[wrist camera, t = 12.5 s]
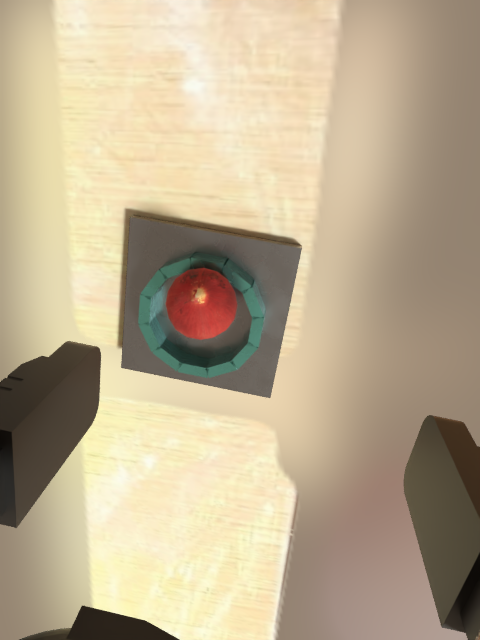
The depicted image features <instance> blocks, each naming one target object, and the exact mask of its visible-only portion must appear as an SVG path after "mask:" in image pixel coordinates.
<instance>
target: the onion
mask: <svg viewBox="0 0 480 640" xmlns="http://www.w3.org/2000/svg"><path fill="white" fill-rule="evenodd" d="M166 308H167V312H168V317H169V319H170V321H171V323H172V324H173V326H174V327H175V329H176V330H177V331H179V332H180V333H182V334H183V335H185V336H186V337H189V338H194V339H199V340H203V339H208V338H213V337H215V336H217V335H219V334H220V333H222V332H224V331H226V330H227V328H228V327H229V326H230V324H231V323H232V322H233V320H234V319H235V315H236V310H237V300H236V295H235V291H234V289H233V288H232V286H231V284H230V282H229V280H228V279H226V278H225V277H224V276H223V275H221V274H220V273H219V272H217V271H214V270H210V269H206V268H198V269H192V270H187V271H186V272H184V273H183V274H182V275H180V276H179V277H177V278H176V279H175V280H174V282H173V284H172V285H171V287H170V288H169V290H168V294H167V299H166Z"/></svg>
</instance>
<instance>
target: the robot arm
mask: <svg viewBox="0 0 480 640" xmlns="http://www.w3.org/2000/svg"><path fill="white" fill-rule="evenodd" d="M100 365H101V352H100V349H99V348H98V347H96V346H91V345H86V344H81V343H76V342H71V341H67V342H65V343H64V344H63V345H62V346H61V347H60V348H59V349H57V350H56V351H55V352H54V353H53V354H52V355H51V356H49V357H45V356H41V357H38V358H36V359H33V360H31V361H29V362H26V363H24V364H21V365H20V366H19V367H18V368H17V369H15V370H14V371H13V372H12V373H10V374H9V375H8V377H7V378H5V379H3V380H2V381H1V382H0V524H2V525H7V526H11V527H15V528H17V527H18V525H19V524H20V523H21V521H22V520H23V518H24V517H25V516H26V514H27V513H28V512H29V510H30V509H31V507H32V506H33V505H34V503H35V502H36V501H37V499H38V498H39V496H40V495H41V494H42V492H43V491H44V490H45V488H46V487H47V485H48V484H49V483H50V481H51V480H52V478H53V477H54V476H55V474H56V473H57V472H58V470H59V469H60V468H61V466H62V465H63V463H64V462H65V461H66V459H67V458H68V457H69V455H70V454H71V452H72V451H73V450H74V448H75V447H76V446H77V444H78V443H79V441H80V440H81V439H82V437H83V436H84V435H85V433H86V432H87V430H88V429H89V428H90V426H91V425H92V423H93V421H94V419H95V416H96V413H97V410H98V405H99V392H100V367H101V366H100ZM404 492H405V496H406V500H407V504H408V507H409V511H410V515H411V518H412V522H413V525H414V529H415V532H416V536H417V540H418V543H419V547H420V550H421V554H422V557H423V561H424V565H425V569H426V572H427V576H428V579H429V583H430V587H431V590H432V594H433V598H434V601H435V605H436V608H437V612H438V616H439V619H440V623H441V626H442V627H443V628H447V629H451V630H456V631H460V632H464V633H466V635H467V638H468V640H480V447H478V446H477V445H476V444H475V442H474V440H473V438H472V436H471V434H470V433H469V431H468V429H467V427H466V426H465V424H464V423H463V422H461V421H456V420H452V419H447V418H442V417H437V416H432V415H429V416H427V417H426V418H425V420H424V422H423V424H422V426H421V429H420V431H419V434H418V437H417V439H416V442H415V445H414V447H413V450H412V453H411V455H410V458H409V461H408V463H407V466H406V469H405V474H404ZM20 640H179V639H177V638H176V637H174V636H172V635H170V634H168V633H167V632H165V631H163V630H161V629H159V628H158V627H156V626H154V625H152V624H151V623H149V622H147V621H145V620H141V619H136V618H132V617H128V616H124V615H120V614H115V613H111V612H107V611H103V610H99V609H94V608H90V607H86V606H82V607H81V609H80V611H79V613H78V615H77V618H76V620H75V622H74V624H73V626H72V628H66V629H57V630H51V631H45V632H41V633H38V634H34V635H31V636H27V637H25V638H22V639H20Z"/></svg>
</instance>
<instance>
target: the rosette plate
mask: <svg viewBox="0 0 480 640" xmlns="http://www.w3.org/2000/svg"><path fill="white" fill-rule="evenodd" d="M301 250H302V246H301V245H295V244H290V243H284V242H279V241H273V240H268V239H262V238H257V237H251V236H246V235H240V234H235V233H229V232H224V231H218V230H213V229H207V228H202V227H196V226H191V225H185V224H180V223H174V222H169V221H163V220H158V219H152V218H147V217H141V216H136V215H133V216H131V217H130V227H129V244H128V261H127V278H126V295H125V312H124V329H123V346H122V364H121V368H125V369H130V370H135V371H140V372H144V373H150V374H154V375H159V376H164V377H169V378H174V379H179V380H184V381H189V382H194V383H199V384H204V385H208V386H214V387H218V388H223V389H228V390H233V391H238V392H243V393H248V394H253V395H258V396H262V397H268V398H270V397H271V392H272V387H273V382H274V377H275V373H276V368H277V363H278V359H279V354H280V349H281V344H282V340H283V335H284V330H285V325H286V321H287V316H288V311H289V307H290V302H291V297H292V292H293V288H294V283H295V278H296V273H297V269H298V264H299V259H300V254H301ZM198 268H206V269H210V270H214V271H217V272H219V273H220V274H221V275H223V276H224V277H225V278H226V279H228V280H229V282H230V284H231V286H232V288H233V289H234V291H235V295H236V300H237V310H236V315H235V319H234V320H233V322H232V323H231V324H230V326H229V327H228V328H227V330H226V331H224V332H222V333H220V334H219V335H217V336H215V337H213V338H208V339H203V340H199V339H194V338H189V337H186V336H185V335H183V334H182V333H180V332H179V331H177V330H176V329H175V327H174V326H173V324H172V323H171V321H170V319H169V317H168V312H167V308H166V299H167V294H168V290H169V288H170V287H171V285H172V284H173V282H174V280H175V279H176V278H177V277H179V276H180V275H182V274H183V273H184V272H186V271H187V270H192V269H198Z"/></svg>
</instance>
